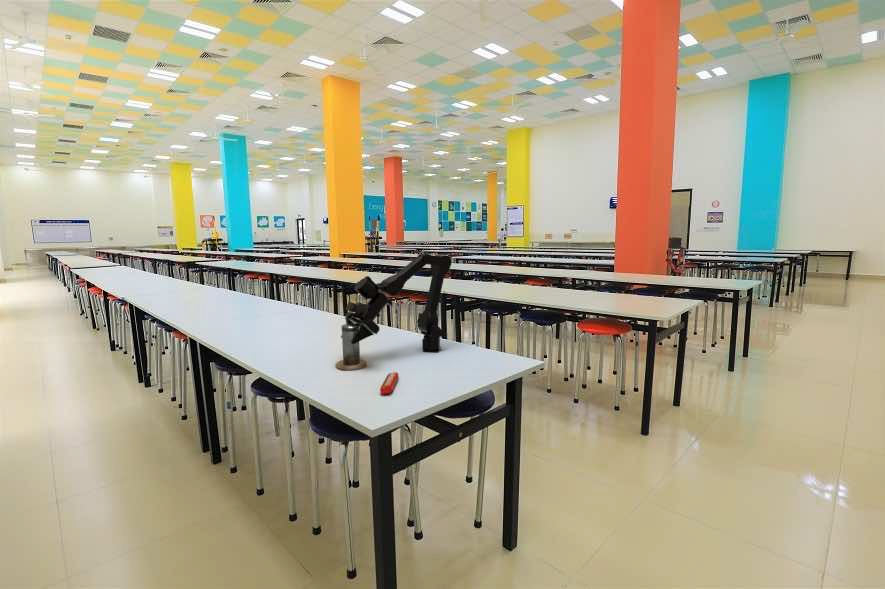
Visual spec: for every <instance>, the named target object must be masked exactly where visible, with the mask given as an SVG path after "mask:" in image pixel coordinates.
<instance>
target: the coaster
mask: <svg viewBox="0 0 885 589" xmlns="http://www.w3.org/2000/svg"><path fill="white" fill-rule="evenodd" d="M367 366H368V362H367V360H365V359H363V358H360V364H358V365H353V366H347V365H344V364H343V359H342V360H340V361H337V362H336V363H335V369H337V370H339V371H344V372H346V371H347V372H348V371H349V372H350V371H359V370H363V369H364V368H366V367H367Z"/></svg>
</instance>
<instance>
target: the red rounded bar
mask: <svg viewBox="0 0 885 589" xmlns="http://www.w3.org/2000/svg"><path fill="white" fill-rule="evenodd" d="M398 380H399V373H398V372H397V371H394V372H390V373H389V372H388V374H387V375H386V377H385V378H384V381H383V382H382V384H381V386H380V388H379V389H380V390H379V391H380V395H381V396H383V395H387V394H392V392H393V390H394V389H395V387H396V384H397V382H398Z"/></svg>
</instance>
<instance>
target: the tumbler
mask: <svg viewBox="0 0 885 589" xmlns="http://www.w3.org/2000/svg"><path fill="white" fill-rule="evenodd" d="M340 328H341V336H342V338H341V341H342V343H341V344H342V360H343V364H344V365H347V366H353V365H358V364H360V359H361V351H360V347H361V346H360V341H359V342H357V343H355V344H352V343H351V342H352V340H353V338H354V337H355V335H356V334H357V332H358V330H359V325H358V324H346V323H345V324H342V325H341V327H340Z"/></svg>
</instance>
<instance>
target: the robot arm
mask: <svg viewBox="0 0 885 589" xmlns="http://www.w3.org/2000/svg"><path fill="white" fill-rule="evenodd" d="M452 263H453V262H452V259H451V257H450V256H449V255H446V254H434V255H432V254H429V253H422V252H421V253H419V254H418V255H417V256H416V257H415V258H414V259H412V261H410V262H409V263H408V264H407V265H406V266H404V267H403V268H402V269H400V271H398V272H397V273H395V274H393V275H390V276H388V277H387V278H385V279H383V280H382V281H381V282H379V283H375V281H373V280H372V278H371V277H370V276H369V275H366V276H365V277H363V278H362V279H360V280H359V281H357V282H356V284H355V285H354V287H353V289H354V290H355V291H356V292H357V293H358V294H359V295H360V296H361V297H362V298H363V299H365V300H368V302H367V303H362V302H360V301H358V302H357V303H355V302H351V301H347V305H346V308H345V311H347V312H346V314H345V315H344V319H345V324H358V325H359V330H358V332H357V334H356V335H355V337H354V338H353V340H352V342H351V343H352V344H355V343H357V342H359V343H360V341H363V340H365V339H367V338H370V337H371V336H374V335H377V334H378V333H379V332H380V330H381V329H380V326H379V325H378V324H377V323H376V322H375V321H374V320H375V319H376V318H379V317H380V316H381V314H380V313H381V312H382V310H383V309H384V308H385V307H386V306H390V307H392V306H393V298H391V297H388V296H392V297H393V296H394V297H395V296H397V295H398V294H399V293H400V292H401V291H402V289H404V286H405V284H406V283H407V282H408V281H409V280H410V279H411V278H412V277H413V276H415V275H416V274H417V273H418V272H419V271H421V270H422V269H423V268H424V267H426V265H430V271H431V280H430V284H429V290H428V294H427V298H426V304H425V308H424V310H423V312H418V318H417V321H416V323H417V325H416V326H417V328H418V330H419V331H420V333H421V335H423V338H422V342H421V343H422V344H421V345H422V348H421V349H422V352H423V353H424V352H428V353H439V352H440V350H441V348H442V347H441V337H443V335H444V330H443V329H442V328H441V327H440V326H439V316H438V308H439V302H440V298H441V293H442V290H443V285H444V281H445V280H444V279H445V277H446V276H447V275H448V273H449V272H450V269H451V267H452ZM340 338H341V339H342V335H340Z"/></svg>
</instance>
